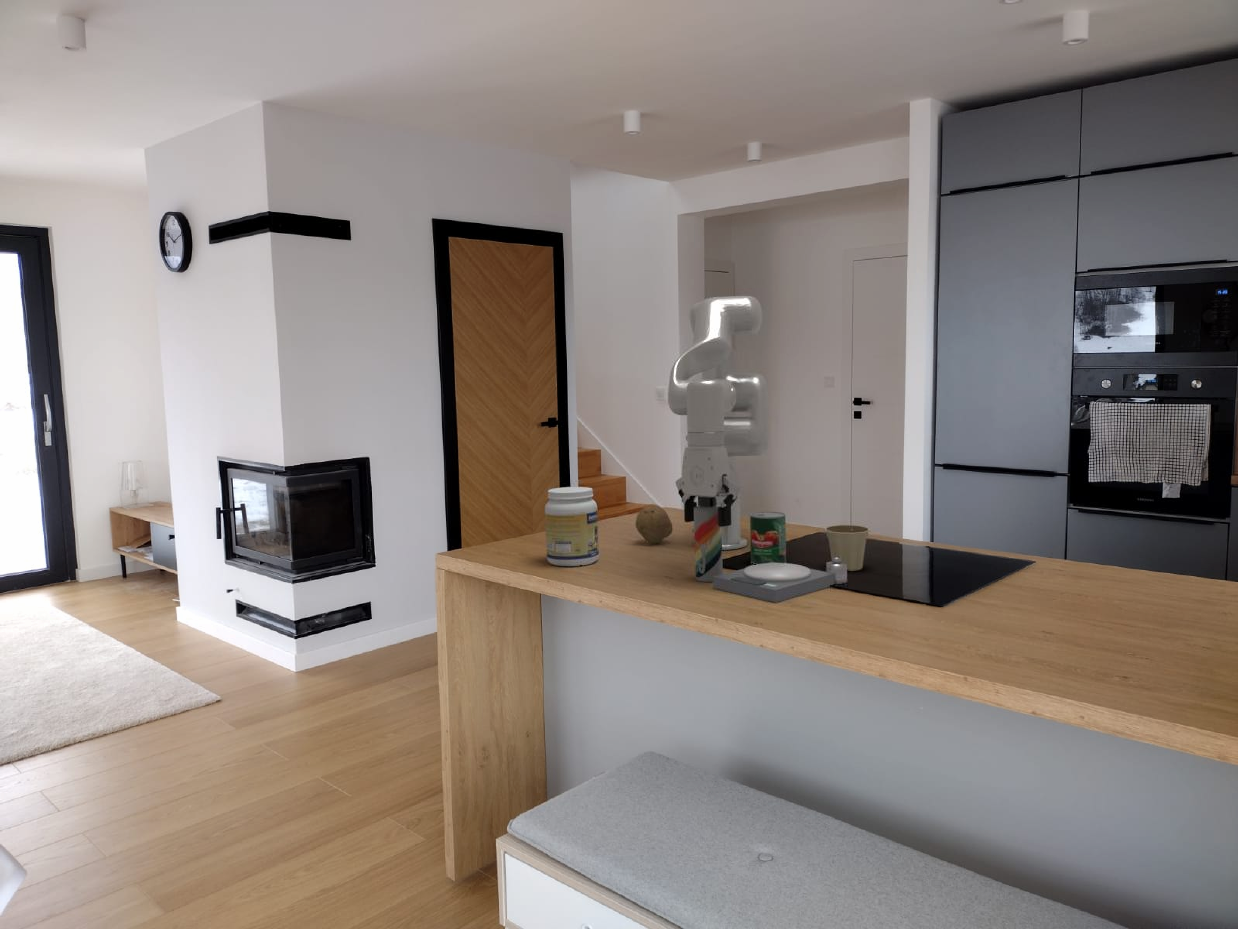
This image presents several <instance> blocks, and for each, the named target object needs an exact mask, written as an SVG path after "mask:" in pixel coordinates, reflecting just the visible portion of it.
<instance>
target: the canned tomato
mask: <svg viewBox="0 0 1238 929" xmlns="http://www.w3.org/2000/svg"><path fill="white" fill-rule="evenodd" d="M786 516H787V515H786V513H785V512H780V511H772V510H771V511H770V510H769V511H755V512H751V513H749V526H750V529H749V530H750V535H749V536H750V563H751V564H752V563H753V564H752V565H754V564H764V563H769V562H776V563H787V542H786V541H787V540H786V538H787V536H786V534H787V533H786V529H787V528H786V524H787V523H786Z"/></svg>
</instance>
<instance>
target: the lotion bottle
mask: <svg viewBox="0 0 1238 929" xmlns="http://www.w3.org/2000/svg"><path fill="white" fill-rule="evenodd" d="M716 505H717V499H716V497H700V496H697V506H696V507H694V521H693V528H694V533H693V538H694V539H693V540H694V541H693V542H694V572H695V573H694V574H695V575H694V576H695V580H696V581H698V582H701V583H702V582H705V583H713V576H717V575H721V574H724V573H723V569H724V568H723V550H722V527H719V525H718V507H720V506H716Z"/></svg>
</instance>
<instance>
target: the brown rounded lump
mask: <svg viewBox="0 0 1238 929" xmlns="http://www.w3.org/2000/svg"><path fill="white" fill-rule="evenodd" d="M635 528H636V530H637V531H638V533H639V534H640V535H641V537H643V539H644V540H645V541H647V542H649V543H650V544H652V545H653V544H654V545H655V544H659V543H660V542H662V541H663V540H664V539H665V538H668V537H669V536H670V535H671V534H672V533H673V524H672V521H671V519H670V517H669V515H668V513H667V512H666V510H665V509H664V508H663V507H662V506H660V505H658V504H654V503H651V504H647V505H646V506H643V507H642V508H641V509H640V510H639V512H638V513H637V515H636V518H635Z"/></svg>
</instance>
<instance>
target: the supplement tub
mask: <svg viewBox="0 0 1238 929" xmlns="http://www.w3.org/2000/svg"><path fill="white" fill-rule="evenodd" d="M593 492H594V490H593V488H592V487H586V486H566V487H565V486H564V487H556V488H551V489H548V491H547V499H548V500H549V501H547V503H545V505H544V515H545V516H544V519H545V521H544V522H545V540H546V541H545V543H546V547H545V548H546V559H547V562H548V564H551V565H552V566H557V567H558V566H560V567H580V565H582V566H589V565H591V564H593V563H595V562H596V561H597V560H598V559H599V556H600V548H599V530H598V529H599V528H598V527H599V526H598V525H599V522H598V505H597V502H596V501H595V500H594V499H592V498H593V497H594V493H593Z"/></svg>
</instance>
